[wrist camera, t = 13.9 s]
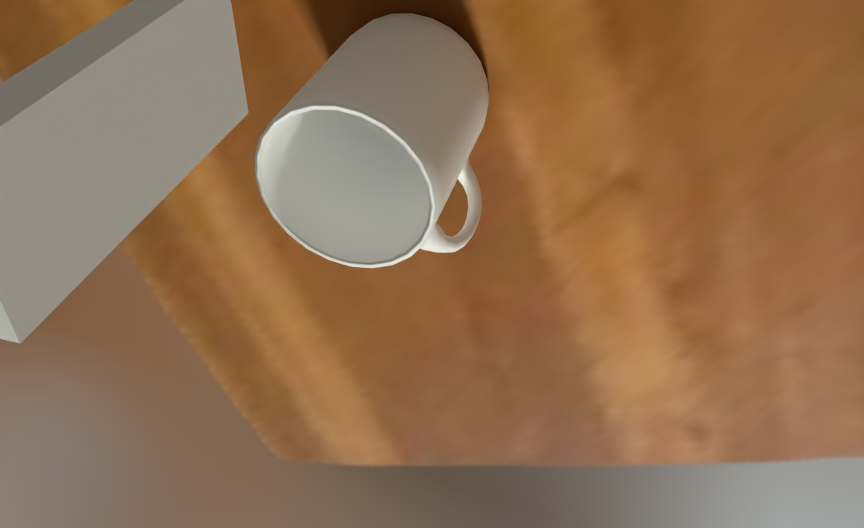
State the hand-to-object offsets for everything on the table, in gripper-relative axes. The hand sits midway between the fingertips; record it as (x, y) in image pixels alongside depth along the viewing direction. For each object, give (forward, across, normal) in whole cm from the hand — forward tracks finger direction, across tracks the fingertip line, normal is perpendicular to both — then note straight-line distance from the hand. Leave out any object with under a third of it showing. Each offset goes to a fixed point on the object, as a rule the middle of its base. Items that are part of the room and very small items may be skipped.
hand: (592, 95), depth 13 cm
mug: (+29, -11, -16) cm, 35 cm away
